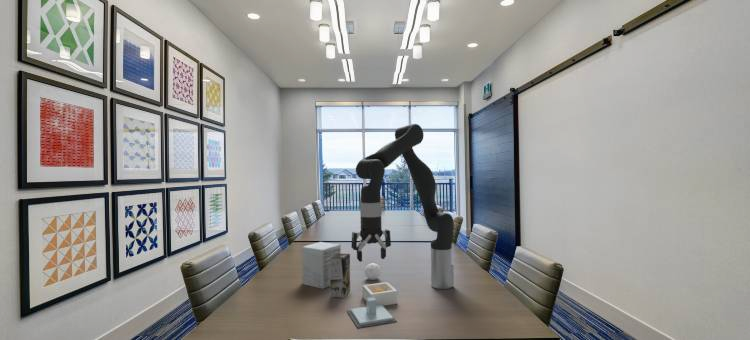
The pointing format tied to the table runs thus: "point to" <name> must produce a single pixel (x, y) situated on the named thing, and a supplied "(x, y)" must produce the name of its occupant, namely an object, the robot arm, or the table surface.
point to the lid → (371, 313)
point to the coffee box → (339, 275)
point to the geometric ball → (372, 271)
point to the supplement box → (318, 263)
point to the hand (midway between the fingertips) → (371, 259)
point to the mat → (369, 324)
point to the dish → (381, 293)
